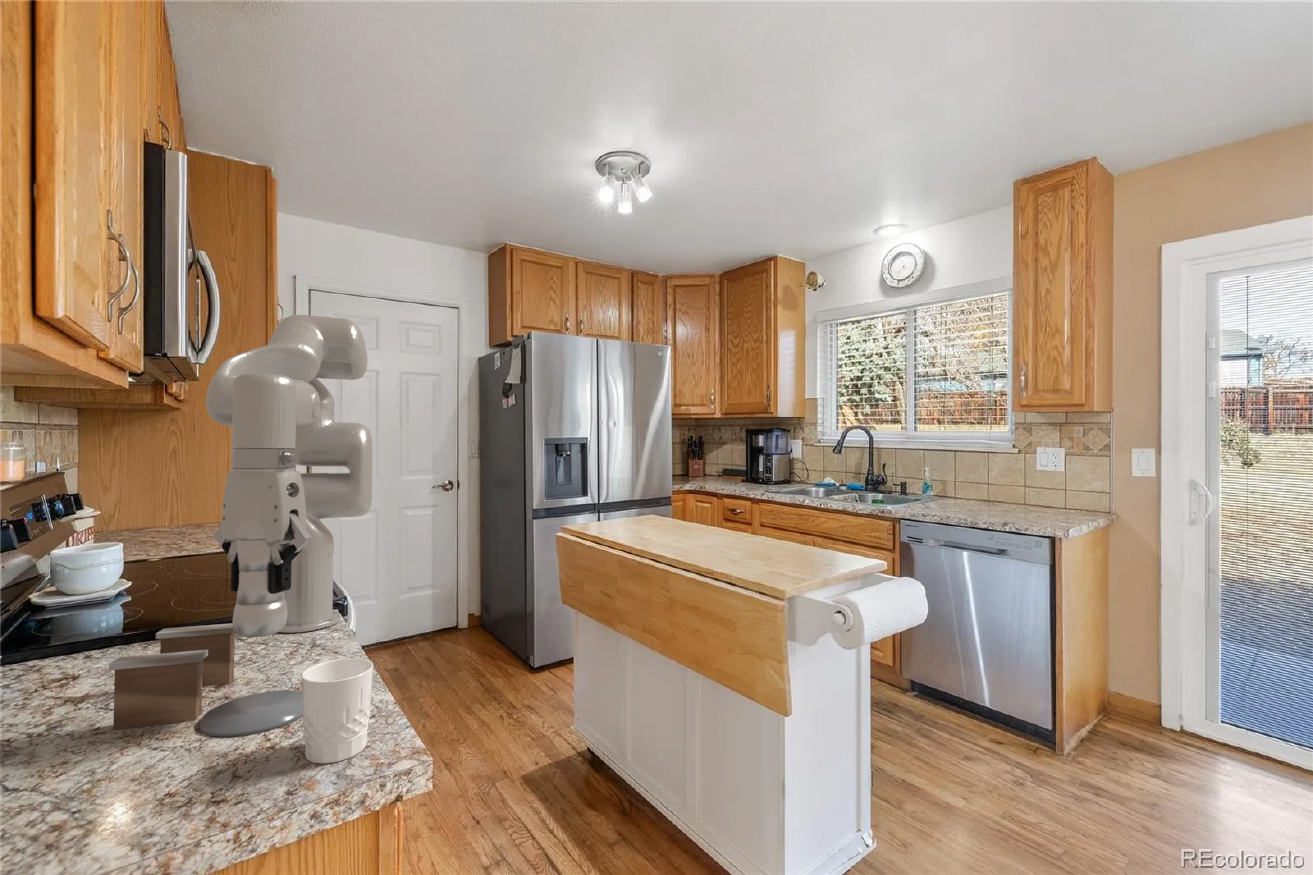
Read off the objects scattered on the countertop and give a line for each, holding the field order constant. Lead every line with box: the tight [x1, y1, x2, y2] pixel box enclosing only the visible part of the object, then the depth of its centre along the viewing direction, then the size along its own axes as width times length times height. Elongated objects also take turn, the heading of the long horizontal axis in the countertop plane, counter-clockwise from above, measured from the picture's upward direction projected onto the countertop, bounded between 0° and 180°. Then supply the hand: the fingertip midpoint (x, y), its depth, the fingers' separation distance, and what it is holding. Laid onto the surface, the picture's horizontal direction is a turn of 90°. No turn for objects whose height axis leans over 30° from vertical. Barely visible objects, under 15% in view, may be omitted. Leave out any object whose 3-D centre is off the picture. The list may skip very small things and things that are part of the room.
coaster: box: [199, 689, 303, 738], centre depth 82 cm, size 13×13×1 cm
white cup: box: [300, 657, 374, 765], centre depth 73 cm, size 8×8×10 cm
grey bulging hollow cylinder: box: [231, 519, 288, 638], centre depth 82 cm, size 6×7×20 cm
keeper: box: [108, 622, 236, 731], centre depth 86 cm, size 16×10×9 cm, turn 20°
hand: (261, 589), depth 82 cm, fingers closed on grey bulging hollow cylinder, 5 cm apart
